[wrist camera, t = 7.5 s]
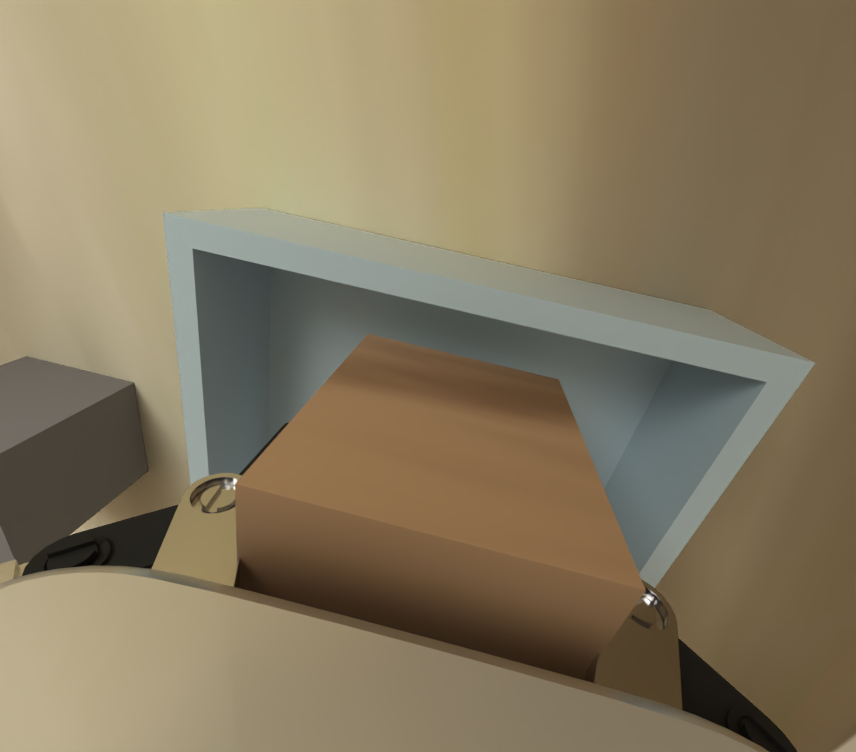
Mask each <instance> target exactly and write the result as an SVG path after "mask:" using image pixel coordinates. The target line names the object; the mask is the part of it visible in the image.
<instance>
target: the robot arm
mask: <svg viewBox="0 0 856 752" xmlns="http://www.w3.org/2000/svg"><path fill="white" fill-rule="evenodd" d="M288 423H289V422H288ZM288 423H285V424H284V425H283V426H282V427H281V428H280V429H279V431H278V432H277V433H276V434H275V435H274V436H273V437H272V438H271V439H270V440H269V442H268V443H267V444H266V445H265V446H264V447H263V448H262V449H261V450H260V452H259V453H258V454H257V455H256V456H255V457H254V458H253V459H252V460H251V462H250V463H249V464H248V465H247V466H246V467H245V468H244V469H243V470H242V472H241V473H240V474H239V475H238V474H234V473H218V474H213V475H209V476H206V477H203V478H201V479H199V480H197V481H195V482H194V483H193V484H192V485H190V486H189V487H188V488H187V489H186V491H185V492H184V494H183V496H182V498H181V500H180V503H179V505H176V506H172V507H169V508H165V509H161V510H158V511H154V512H151V513H147V514H144V515H140V516H136V517H133V518H129V519H126V520H122V521H118V522H115V523H111V524H108V525H104V526H101V527H97V528H93V529H90V530H86V531H83V532H79V533H76V534H73V535H70V536H67V537H64V538H62V539H59V540H57V541H56V542H54V543H52V544H50V545H48V546H46V547H45V548H44V549H43V550H41V551H40V552H39V553H37V554H36V555H35V556H34V557H33V558H32V559H31V560H30V562H28V563H24V564H21V565H18V562H17V560H12V561H9V562H5V563H2V564H0V752H797V750H796V749H795V747H794V746H793V745H792V743H791V742H790V741H789V740H788V738H787V737H786V736H785V734H784V733H783V732H782V731H781V730H780V729H779V728H778V727H777V726H776V725H775V724H774V723H773V722H772V721H771V720H770V719H769V718H768V717H767V716H766V715H764V714H763V713H762V712H761V711H760V710H759V709H758V708H757V707H755V706H754V705H753V704H752V703H751V702H750V701H749V700H748V699H746V698H745V697H744V696H743V695H742V694H741V693H740V692H739V691H737V690H736V689H735V688H734V687H733V686H732V685H731V684H730V683H728V682H727V681H726V680H725V679H724V678H723V677H722V676H721V675H719V674H718V673H717V672H716V671H715V670H714V669H713V668H711V667H710V666H709V665H708V664H707V663H706V662H705V661H704V660H702V659H701V658H700V657H699V656H698V655H697V654H696V653H695V652H693V651H692V650H691V649H690V648H689V647H688V646H687V645H686V644H684V643H683V642H682V641H681V640H680V639H679V638H678V629H677V621H676V617H675V614H674V612H673V610H672V608H671V606H670V604H669V603H668V602H667V601H666V599H665V598H664V597H663V596H662V594H660V593H659V592H658V591H657V590H656V589H655V588H654V587H653V586H651V585H650V584H648V583H647V582H645V581H643V580H642V579H641V580H642V583H643V585H644V587H645V592H644V593H643V595H642V596H641V598H640V599H639V601H638V602H637V604H636V605H635V606H634V608H633V609H632V611H631V612H630V614H629V615H628V617H627V618H626V619H625V621H624V622H623V624H622V625H621V627H620V628H619V630H618V631H617V632H616V634H615V635H614V637H613V638H612V640H611V641H610V643H609V644H608V646H607V647H606V648H605V650H604V651H603V653H602V654H601V653H598V654H597V655H596V657H595V658H594V660H593V661H592V663H591V664H590V666H589V667H588V668H587V670H586V675H585V679H584V680H581V679H577V678H573V677H570V676H566V675H563V674H559V673H555V672H552V671H548V670H544V669H541V668H537V667H533V666H530V665H526V664H522V663H519V662H515V661H511V660H508V659H504V658H501V657H497V656H493V655H490V654H486V653H482V652H479V651H475V650H471V649H467V648H464V647H460V646H456V645H453V644H449V643H445V642H441V641H438V640H434V639H430V638H427V637H423V636H419V635H415V634H412V633H408V632H404V631H400V630H397V629H393V628H389V627H385V626H382V625H378V624H374V623H371V622H367V621H363V620H359V619H356V618H352V617H348V616H344V615H340V614H336V613H333V612H329V611H325V610H321V609H317V608H314V607H310V606H306V605H302V604H298V603H294V602H291V601H287V600H283V599H279V598H275V597H272V596H268V595H264V594H260V593H256V592H252V591H248V590H244V589H240V588H238V586H239V581H240V558H239V557H237V544H236V504H235V483H236V482H237V481H238V480H239V479H240V478H241V477H242V475H243V474H244V473H245V472H246V471H247V470H248V469H249V468H250V466H251V465H252V464H253V463H254V462H255V461H256V460H257V458H258V457H259V456H260V455H261V454H262V453H263V452H264V451H265V449H266V448H267V447H268V446H269V445H270V444H271V443H272V442H273V440H274V439H275V438H276V437H277V436H278V435H279V434H280V433H281V431H282V430H283V429H284V428H285V427H286V426H287V425H288Z"/></svg>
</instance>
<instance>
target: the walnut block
mask: <svg viewBox="0 0 856 752" xmlns="http://www.w3.org/2000/svg"><path fill="white" fill-rule="evenodd" d="M235 504H236V544H237V557H239V558H240V581H239V586H238V588H240V589H244V590H248V591H252V592H256V593H260V594H264V595H268V596H272V597H275V598H279V599H283V600H287V601H291V602H294V603H298V604H302V605H306V606H310V607H314V608H317V609H321V610H325V611H329V612H333V613H336V614H340V615H344V616H348V617H352V618H356V619H359V620H363V621H367V622H371V623H374V624H378V625H382V626H385V627H389V628H393V629H397V630H400V631H404V632H408V633H412V634H415V635H419V636H423V637H427V638H430V639H434V640H438V641H441V642H445V643H449V644H453V645H456V646H460V647H464V648H467V649H471V650H475V651H479V652H482V653H486V654H490V655H493V656H497V657H501V658H504V659H508V660H511V661H515V662H519V663H522V664H526V665H530V666H533V667H537V668H541V669H544V670H548V671H552V672H555V673H559V674H563V675H566V676H570V677H573V678H577V679H581V680H584V679H585V675H586V670H587V668H588V667H589V666H590V664H591V663H592V661H593V660H594V658H595V657H596V655H597V654H598V653H601V654H602V653H603V651H604V650H605V648H606V647H607V646H608V644H609V643H610V641H611V640H612V638H613V637H614V635H615V634H616V632H617V631H618V630H619V628H620V627H621V625H622V624H623V622H624V621H625V619H626V618H627V617H628V615H629V614H630V612H631V611H632V609H633V608H634V606H635V605H636V604H637V602H638V601H639V599H640V598H641V596H642V595H643V593H644V592H645V587H644V585H643V583H642V580H641V578H640V575H639V573H638V570H637V568H636V566H635V563H634V561H633V558H632V556H631V553H630V551H629V549H628V546H627V544H626V541H625V539H624V536H623V534H622V532H621V529H620V527H619V524H618V522H617V519H616V517H615V515H614V512H613V510H612V507H611V505H610V503H609V500H608V498H607V495H606V493H605V490H604V488H603V486H602V483H601V481H600V478H599V476H598V473H597V471H596V469H595V466H594V464H593V461H592V459H591V456H590V454H589V452H588V449H587V447H586V444H585V442H584V440H583V437H582V435H581V432H580V430H579V427H578V425H577V423H576V420H575V418H574V415H573V413H572V410H571V408H570V406H569V403H568V401H567V398H566V396H565V393H564V391H563V389H562V386H561V384H560V381H559V379H555V378H551V377H546V376H542V375H538V374H534V373H530V372H526V371H521V370H517V369H513V368H509V367H505V366H501V365H496V364H492V363H488V362H484V361H480V360H476V359H471V358H467V357H463V356H459V355H455V354H451V353H446V352H442V351H438V350H434V349H430V348H426V347H421V346H417V345H413V344H409V343H405V342H401V341H397V340H392V339H388V338H384V337H380V336H376V335H372V334H367V335H366V336H365V338H364V339H363V340H362V341H361V342H360V343H359V344H358V346H357V347H356V348H355V349H354V350H353V351H352V352H351V353H350V355H349V356H348V357H347V358H346V359H345V360H344V361H343V362H342V364H341V365H340V366H339V367H338V368H337V369H336V370H335V372H334V373H333V374H332V375H331V376H330V377H329V378H328V379H327V381H326V382H325V383H324V384H323V385H322V386H321V387H320V388H319V390H318V391H317V392H316V393H315V394H314V395H313V396H312V397H311V399H310V400H309V401H308V402H307V403H306V404H305V405H304V407H303V408H302V409H301V410H300V411H299V412H298V413H297V414H296V416H295V417H294V418H293V419H292V420H291V421H290V422H289V423H288V425H287V426H286V427H285V428H284V429H283V430H282V431H281V433H280V434H279V435H278V436H277V437H276V438H275V439H274V440H273V442H272V443H271V444H270V445H269V446H268V447H267V448H266V449H265V451H264V452H263V453H262V454H261V455H260V456H259V457H258V458H257V460H256V461H255V462H254V463H253V464H252V465H251V466H250V468H249V469H248V470H247V471H246V472H245V473H244V474H243V475H242V477H241V478H240V479H239V480H238V481H237V482H236V483H235Z"/></svg>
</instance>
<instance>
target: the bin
mask: <svg viewBox="0 0 856 752" xmlns="http://www.w3.org/2000/svg"><path fill="white" fill-rule="evenodd" d="M163 219H164V229H165V239H166V248H167V258H168V268H169V278H170V288H171V298H172V307H173V317H174V327H175V337H176V347H177V357H178V367H179V376H180V386H181V396H182V406H183V416H184V426H185V435H186V445H187V455H188V465H189V475H190V485H192V484H193V483H194V482H195V481H197V480H199V479H201V478H203V477H206V476H209V475H213V474H218V473H234V474H238V475H239V474H240V473H241V472H242V470H243V469H244V468H245V467H246V466H247V465H248V464H249V463H250V462H251V460H252V459H253V458H254V457H255V456H256V455H257V454H258V453H259V452H260V450H261V449H262V448H263V447H264V446H265V445H266V444H267V443H268V442H269V440H270V439H271V438H272V437H273V436H274V435H275V434H276V433H277V432H278V431H279V429H280V428H281V427H282V426H283V425H284V424H285V423H288V422H290V421H291V420H292V419H293V418H294V417H295V416H296V414H297V413H298V412H299V411H300V410H301V409H302V408H303V407H304V405H305V404H306V403H307V402H308V401H309V400H310V399H311V397H312V396H313V395H314V394H315V393H316V392H317V391H318V390H319V388H320V387H321V386H322V385H323V384H324V383H325V382H326V381H327V379H328V378H329V377H330V376H331V375H332V374H333V373H334V372H335V370H336V369H337V368H338V367H339V366H340V365H341V364H342V362H343V361H344V360H345V359H346V358H347V357H348V356H349V355H350V353H351V352H352V351H353V350H354V349H355V348H356V347H357V346H358V344H359V343H360V342H361V341H362V340H363V339H364V338H365V336H366V335H367V334H372V335H376V336H380V337H384V338H388V339H392V340H397V341H401V342H405V343H409V344H413V345H417V346H421V347H426V348H430V349H434V350H438V351H442V352H446V353H451V354H455V355H459V356H463V357H467V358H471V359H476V360H480V361H484V362H488V363H492V364H496V365H501V366H505V367H509V368H513V369H517V370H521V371H526V372H530V373H534V374H538V375H542V376H546V377H551V378H555V379H559V381H560V384H561V386H562V389H563V391H564V393H565V396H566V398H567V401H568V403H569V406H570V408H571V410H572V413H573V415H574V418H575V420H576V423H577V425H578V427H579V430H580V432H581V435H582V437H583V440H584V442H585V444H586V447H587V449H588V452H589V454H590V456H591V459H592V461H593V464H594V466H595V469H596V471H597V473H598V476H599V478H600V481H601V483H602V486H603V488H604V490H605V493H606V495H607V498H608V500H609V503H610V505H611V507H612V510H613V512H614V515H615V517H616V519H617V522H618V524H619V527H620V529H621V532H622V534H623V536H624V539H625V541H626V544H627V546H628V549H629V551H630V553H631V556H632V558H633V561H634V563H635V566H636V568H637V570H638V573H639V575H640V578H641V579H642V580H643V581H645V582H647V583H648V584H650V585H651V586H653V587H654V588H655V587H656V586H657V584H658V583H659V581H660V580H661V579H662V577H663V576H664V574H665V573H666V572H667V570H668V569H669V567H670V566H671V565H672V563H673V562H674V560H675V559H676V558H677V556H678V555H679V553H680V552H681V551H682V549H683V548H684V546H685V545H686V544H687V542H688V541H689V539H690V538H691V537H692V535H693V534H694V532H695V531H696V530H697V528H698V527H699V525H700V524H701V523H702V521H703V520H704V518H705V517H706V516H707V514H708V513H709V511H710V510H711V509H712V507H713V506H714V504H715V503H716V502H717V500H718V499H719V497H720V496H721V495H722V493H723V492H724V490H725V489H726V488H727V486H728V485H729V483H730V482H731V481H732V479H733V478H734V476H735V475H736V474H737V472H738V471H739V469H740V468H741V467H742V465H743V464H744V462H745V461H746V460H747V458H748V457H749V455H750V454H751V453H752V451H753V450H754V448H755V447H756V446H757V444H758V443H759V441H760V440H761V439H762V437H763V436H764V434H765V433H766V432H767V430H768V429H769V427H770V426H771V425H772V423H773V422H774V420H775V419H776V418H777V416H778V415H779V413H780V412H781V411H782V409H783V408H784V406H785V405H786V404H787V402H788V401H789V399H790V398H791V397H792V395H793V394H794V392H795V391H796V390H797V388H798V387H799V385H800V384H801V383H802V381H803V380H804V378H805V377H806V376H807V374H808V373H809V371H810V370H811V369H812V367H813V366H814V364H815V362H813V361H811V360H809V359H807V358H805V357H803V356H801V355H799V354H797V353H795V352H793V351H791V350H789V349H787V348H785V347H783V346H781V345H779V344H777V343H775V342H773V341H771V340H769V339H767V338H765V337H763V336H761V335H759V334H757V333H755V332H753V331H751V330H749V329H747V328H745V327H743V326H741V325H739V324H737V323H735V322H733V321H731V320H729V319H727V318H725V317H723V316H721V315H719V314H717V313H715V312H713V311H711V310H709V309H705V308H700V307H696V306H692V305H687V304H683V303H678V302H674V301H670V300H665V299H661V298H656V297H652V296H648V295H643V294H639V293H634V292H630V291H626V290H621V289H617V288H612V287H608V286H604V285H599V284H595V283H590V282H586V281H582V280H577V279H573V278H569V277H564V276H560V275H555V274H551V273H547V272H542V271H538V270H533V269H529V268H525V267H520V266H516V265H511V264H507V263H503V262H498V261H494V260H489V259H485V258H481V257H476V256H472V255H467V254H463V253H459V252H454V251H450V250H446V249H441V248H437V247H432V246H428V245H424V244H419V243H415V242H410V241H406V240H402V239H397V238H393V237H388V236H384V235H380V234H375V233H371V232H366V231H362V230H358V229H353V228H349V227H344V226H340V225H336V224H331V223H327V222H323V221H318V220H314V219H309V218H305V217H301V216H296V215H292V214H287V213H283V212H279V211H274V210H270V209H265V208H247V209H226V210H205V211H184V212H163Z"/></svg>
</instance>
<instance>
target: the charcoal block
mask: <svg viewBox="0 0 856 752" xmlns="http://www.w3.org/2000/svg"><path fill="white" fill-rule="evenodd" d="M146 472H148V466H147V460H146V454H145V447H144V441H143V435H142V429H141V423H140V417H139V411H138V405H137V399H136V393H135V387H134V383H133V382H129V381H125V380H121V379H117V378H113V377H108V376H104V375H100V374H96V373H92V372H88V371H84V370H80V369H76V368H72V367H68V366H64V365H60V364H56V363H52V362H48V361H44V360H39V359H35V358H31V357H24V358H21V359H18V360H15V361H12V362H9V363H7V364H4V365H1V366H0V564H2V563H5V562H9V561H12V560H17V562H18V565H21V564H24V563H28V562H30V560H31V559H32V558H33V557H34V556H35V555H36V554H37V553H39V552H40V551H41V550H43V549H44V548H45V547H46V546H48V545H50V544H52V543H54V542H56V541H57V540H59V539H62V538H64V537H67V536H69V535H70V534H71V533H73V532H74V531H75V530H76V529H78V528H79V527H80V526H81V525H83V524H84V523H85V522H86V521H87V520H89V519H90V518H91V517H92V516H94V515H95V514H96V513H97V512H98V511H100V510H101V509H102V508H103V507H105V506H106V505H107V504H108V503H110V502H111V501H112V500H113V499H114V498H116V497H117V496H118V495H119V494H121V493H122V492H123V491H124V490H126V489H127V488H128V487H129V486H130V485H132V484H133V483H134V482H135V481H137V480H138V479H139V478H140V477H141V476H143V475H144V474H145V473H146Z"/></svg>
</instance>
